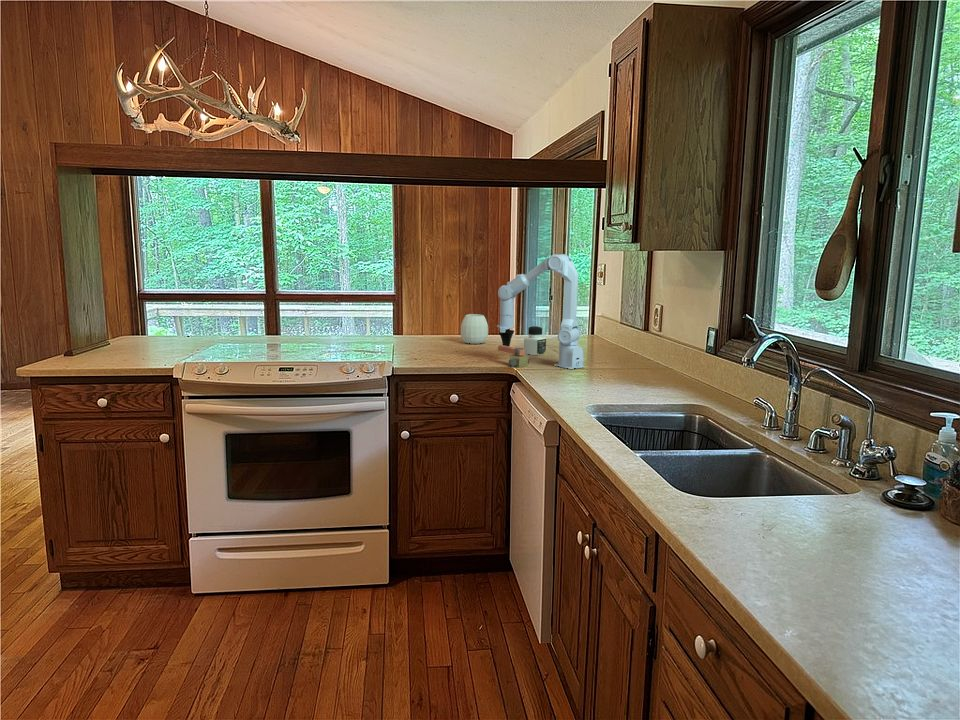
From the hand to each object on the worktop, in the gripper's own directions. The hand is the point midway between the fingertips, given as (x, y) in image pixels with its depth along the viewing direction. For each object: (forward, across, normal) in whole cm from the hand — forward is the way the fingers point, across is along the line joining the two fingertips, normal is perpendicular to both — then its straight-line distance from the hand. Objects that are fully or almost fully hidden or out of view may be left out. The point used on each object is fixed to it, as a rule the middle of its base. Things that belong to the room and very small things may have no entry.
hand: (506, 347), depth 279 cm
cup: (+5, -41, -26) cm, 48 cm away
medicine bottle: (+5, -20, +8) cm, 22 cm away
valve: (+5, +10, +8) cm, 14 cm away
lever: (+1, +7, +4) cm, 8 cm away
